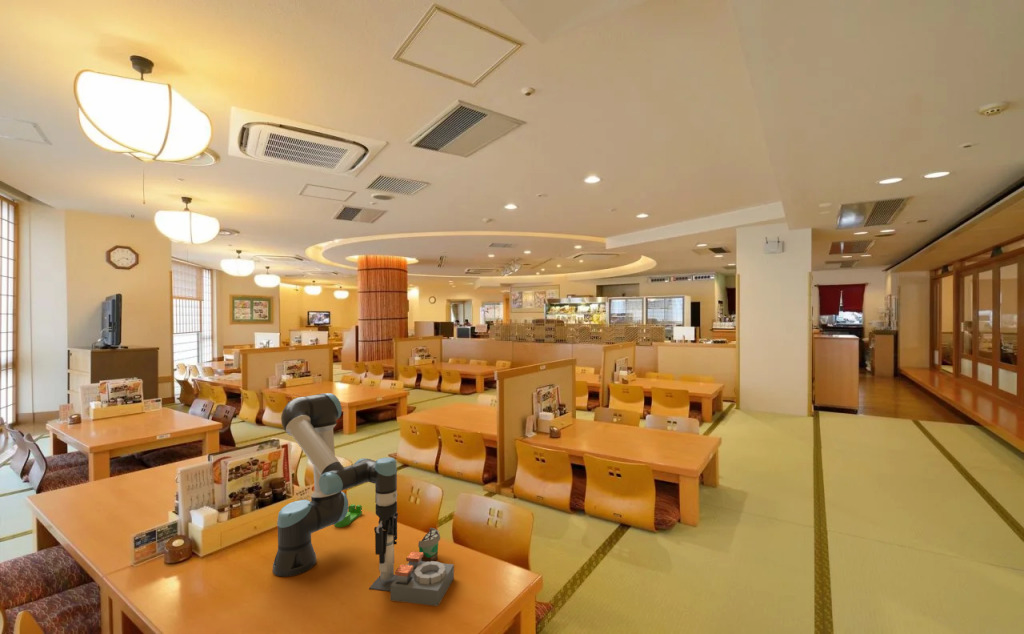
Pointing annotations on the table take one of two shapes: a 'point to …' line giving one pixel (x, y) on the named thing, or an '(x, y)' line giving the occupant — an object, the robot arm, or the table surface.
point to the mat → (383, 584)
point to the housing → (425, 584)
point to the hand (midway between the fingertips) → (386, 566)
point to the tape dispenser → (350, 515)
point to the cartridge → (389, 560)
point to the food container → (429, 545)
